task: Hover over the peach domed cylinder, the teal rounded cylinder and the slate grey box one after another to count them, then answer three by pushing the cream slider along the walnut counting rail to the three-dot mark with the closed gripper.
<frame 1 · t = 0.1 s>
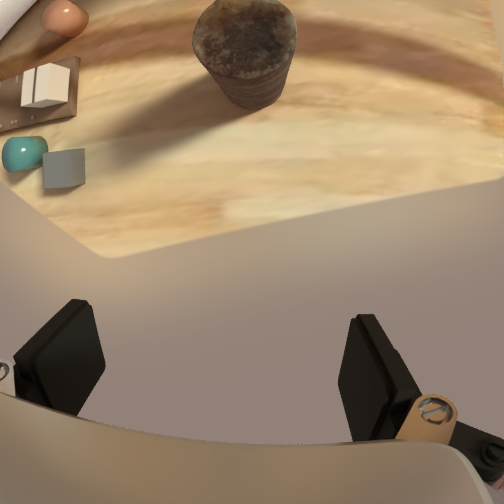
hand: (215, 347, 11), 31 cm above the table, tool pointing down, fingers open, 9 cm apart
peach domed cylinder: (75, 24, 32), on the table
candle: (253, 84, 36), on the table
teal rounded cylinder: (36, 151, 38), on the table
slate box: (71, 167, 39), on the table
slider: (45, 86, 31), point 4 cm above the table, slide at 0.0 cm
counting rail: (27, 99, 35), on the table
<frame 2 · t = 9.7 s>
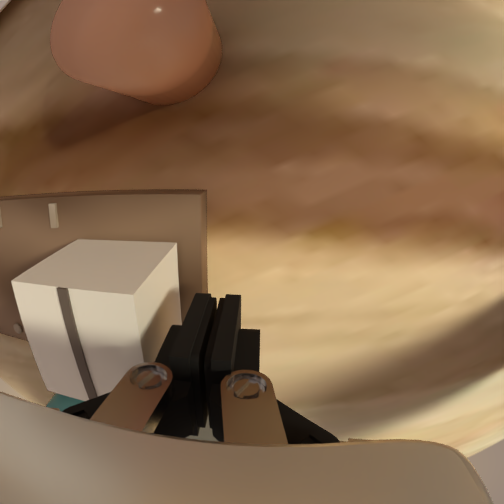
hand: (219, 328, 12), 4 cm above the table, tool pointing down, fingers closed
peach domed cylinder: (168, 55, 12), on the table
teal rounded cylinder: (101, 390, 19), on the table
slider: (106, 319, 12), point 4 cm above the table, slide at 0.5 cm, touching gripper
counting rail: (40, 269, 16), on the table
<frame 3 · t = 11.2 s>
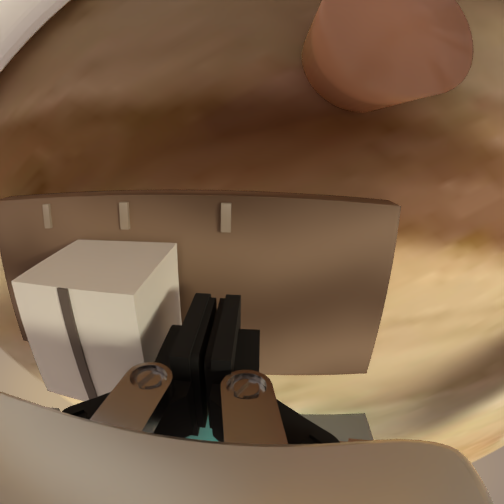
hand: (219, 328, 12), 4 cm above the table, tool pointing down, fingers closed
peach domed cylinder: (354, 62, 12), on the table
slate box: (321, 435, 19), on the table
slider: (106, 319, 12), point 4 cm above the table, slide at 9.1 cm, touching gripper
counting rail: (170, 279, 16), on the table
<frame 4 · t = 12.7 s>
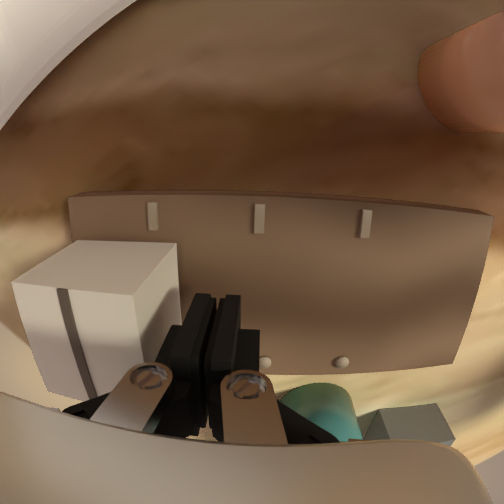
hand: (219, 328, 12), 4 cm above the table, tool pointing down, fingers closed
peach domed cylinder: (457, 86, 12), on the table
teal rounded cylinder: (314, 410, 18), on the table
slate box: (396, 427, 19), on the table
slider: (106, 319, 12), point 4 cm above the table, slide at 14.9 cm, touching gripper
counting rail: (287, 284, 16), on the table
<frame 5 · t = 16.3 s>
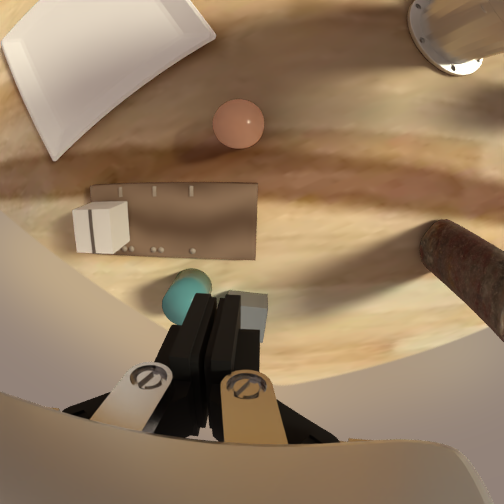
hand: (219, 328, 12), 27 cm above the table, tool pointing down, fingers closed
peach domed cylinder: (241, 127, 35), on the table
candle: (437, 244, 38), on the table
teal rounded cylinder: (193, 286, 41), on the table
slate box: (246, 308, 42), on the table
plate: (91, 34, 31), on the table
slider: (101, 226, 34), point 4 cm above the table, slide at 15.0 cm
counting rail: (171, 218, 38), on the table
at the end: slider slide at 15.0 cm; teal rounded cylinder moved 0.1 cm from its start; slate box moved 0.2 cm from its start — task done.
